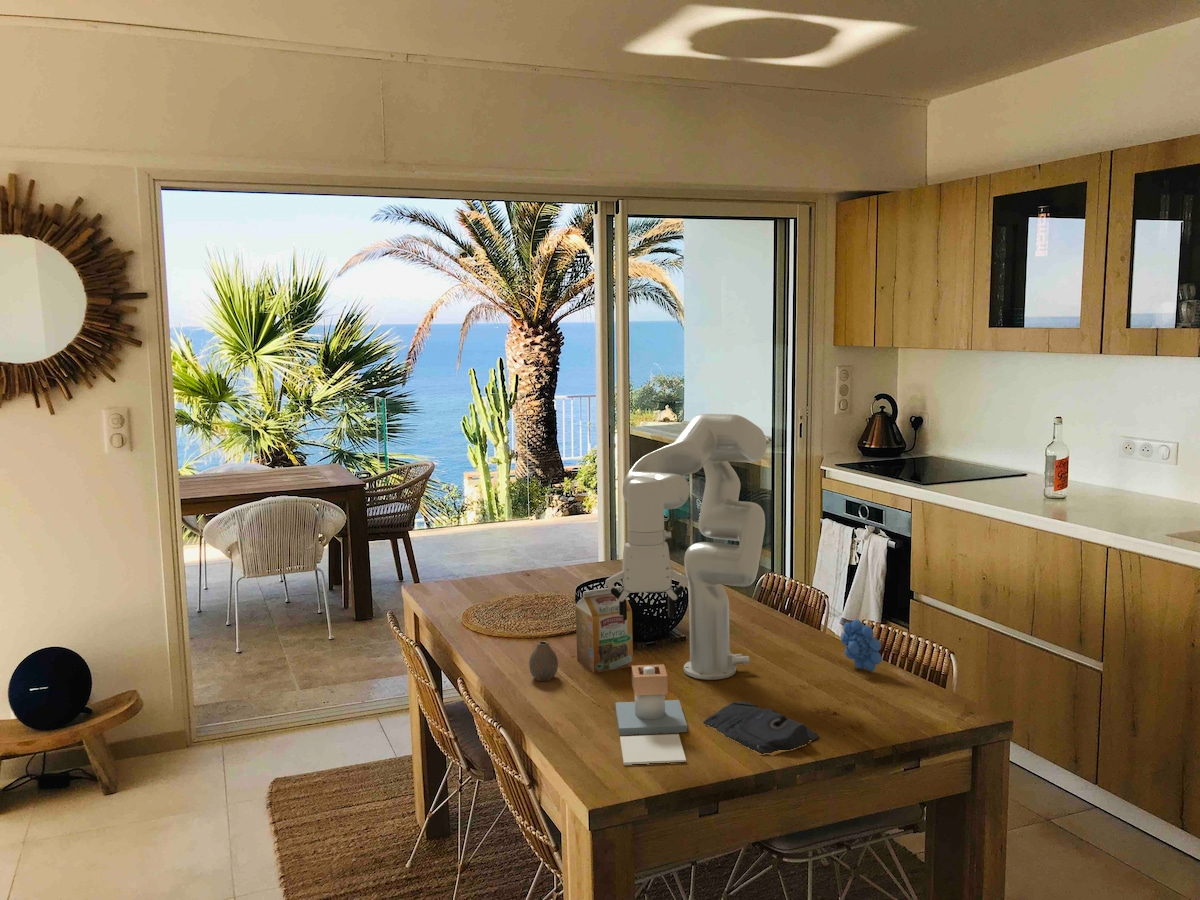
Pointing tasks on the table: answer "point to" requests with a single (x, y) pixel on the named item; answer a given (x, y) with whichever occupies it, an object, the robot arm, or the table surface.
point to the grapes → (861, 645)
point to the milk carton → (603, 632)
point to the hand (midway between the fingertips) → (647, 617)
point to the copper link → (649, 680)
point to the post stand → (650, 714)
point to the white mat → (652, 749)
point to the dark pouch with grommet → (760, 728)
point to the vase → (543, 662)
